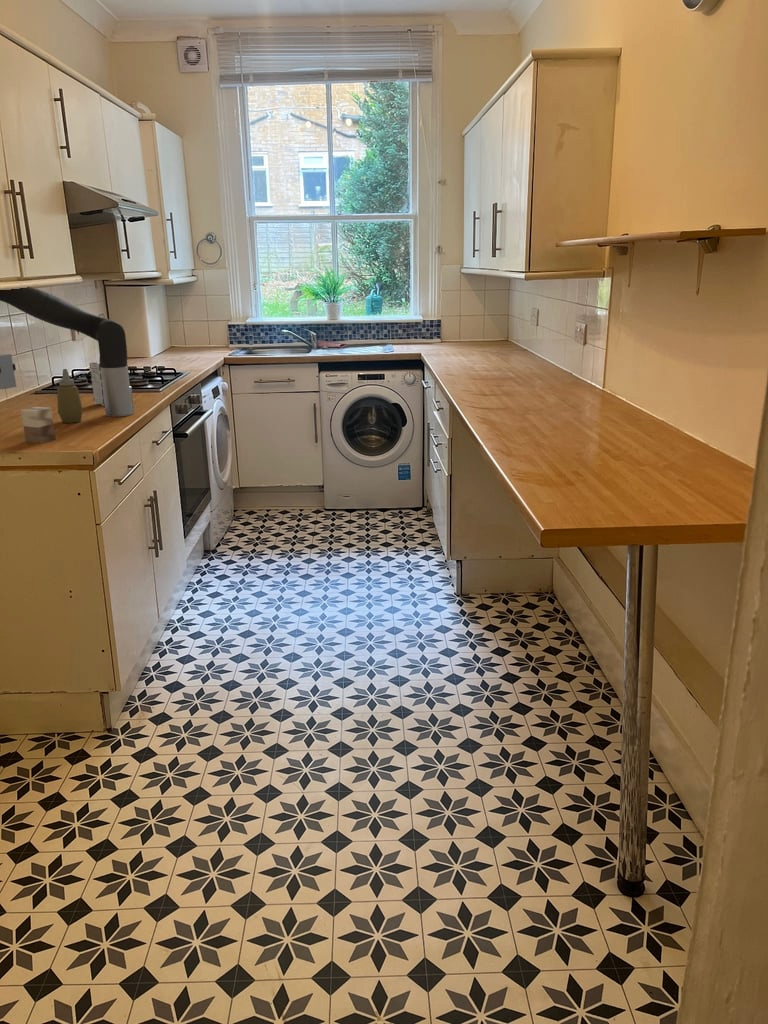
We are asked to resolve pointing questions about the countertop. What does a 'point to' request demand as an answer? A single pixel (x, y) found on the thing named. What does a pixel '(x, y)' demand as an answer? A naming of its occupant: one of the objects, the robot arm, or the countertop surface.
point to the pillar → (6, 372)
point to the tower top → (37, 417)
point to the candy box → (97, 383)
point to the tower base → (39, 434)
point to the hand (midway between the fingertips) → (7, 368)
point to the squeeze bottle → (69, 400)
